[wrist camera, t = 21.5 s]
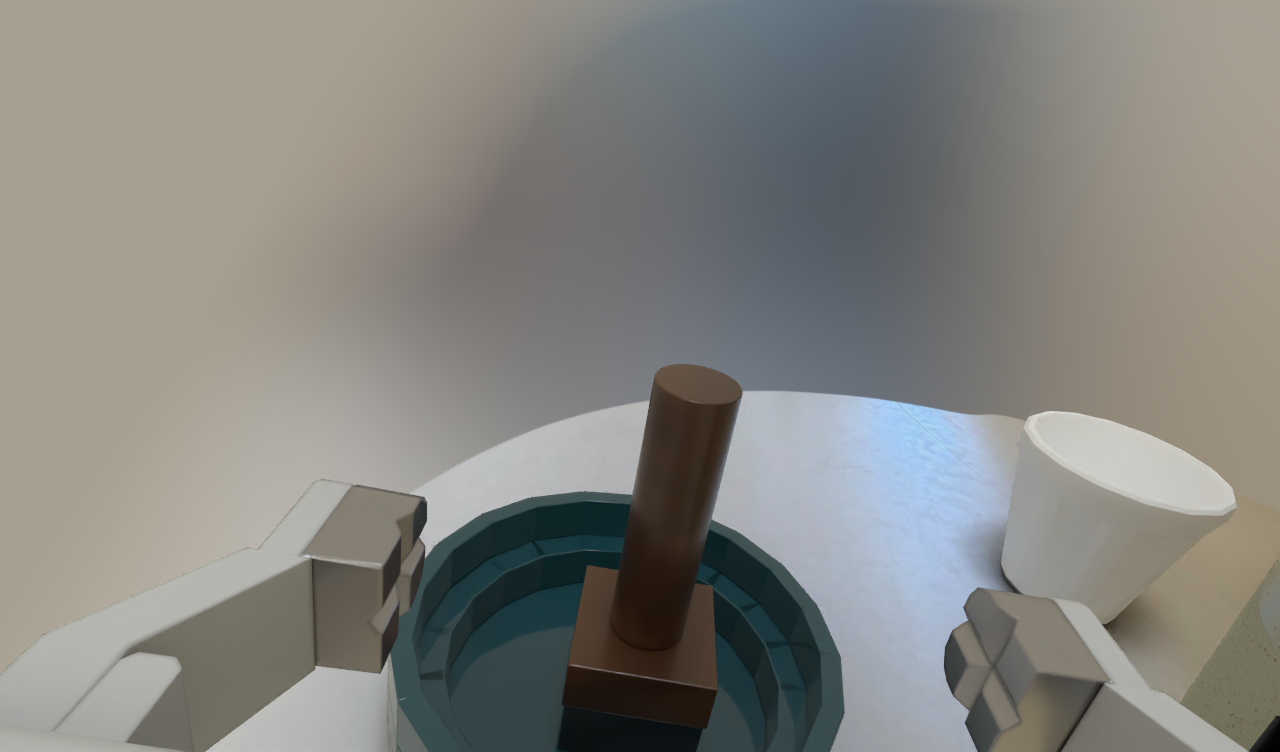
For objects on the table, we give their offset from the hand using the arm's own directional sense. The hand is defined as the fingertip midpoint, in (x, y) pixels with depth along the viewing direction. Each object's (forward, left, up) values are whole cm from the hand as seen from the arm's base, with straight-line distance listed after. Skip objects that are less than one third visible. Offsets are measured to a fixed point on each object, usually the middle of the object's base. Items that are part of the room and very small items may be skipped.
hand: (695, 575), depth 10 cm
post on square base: (-1, +12, -17) cm, 20 cm away
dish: (-2, +12, -18) cm, 21 cm away
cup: (+21, +29, -18) cm, 40 cm away
